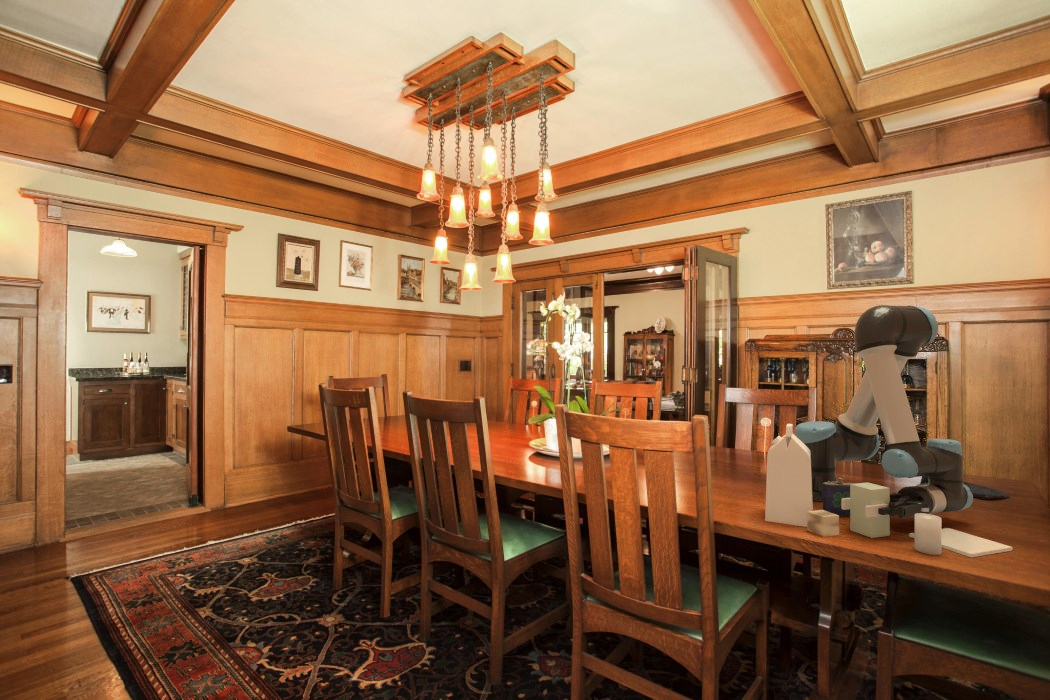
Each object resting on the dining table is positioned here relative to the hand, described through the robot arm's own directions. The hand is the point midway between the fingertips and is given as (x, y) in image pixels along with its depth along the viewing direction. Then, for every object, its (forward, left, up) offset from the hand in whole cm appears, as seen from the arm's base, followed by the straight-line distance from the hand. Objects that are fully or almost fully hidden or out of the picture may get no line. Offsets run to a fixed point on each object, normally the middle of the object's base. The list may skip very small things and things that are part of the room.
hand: (854, 507), depth 133 cm
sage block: (0, +5, -7) cm, 9 cm away
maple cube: (-4, -6, -7) cm, 10 cm away
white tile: (+12, +19, -7) cm, 24 cm away
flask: (-14, +11, -7) cm, 19 cm away
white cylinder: (+13, +7, -7) cm, 16 cm away
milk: (-16, -5, -7) cm, 18 cm away
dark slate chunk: (-21, +72, -8) cm, 76 cm away
